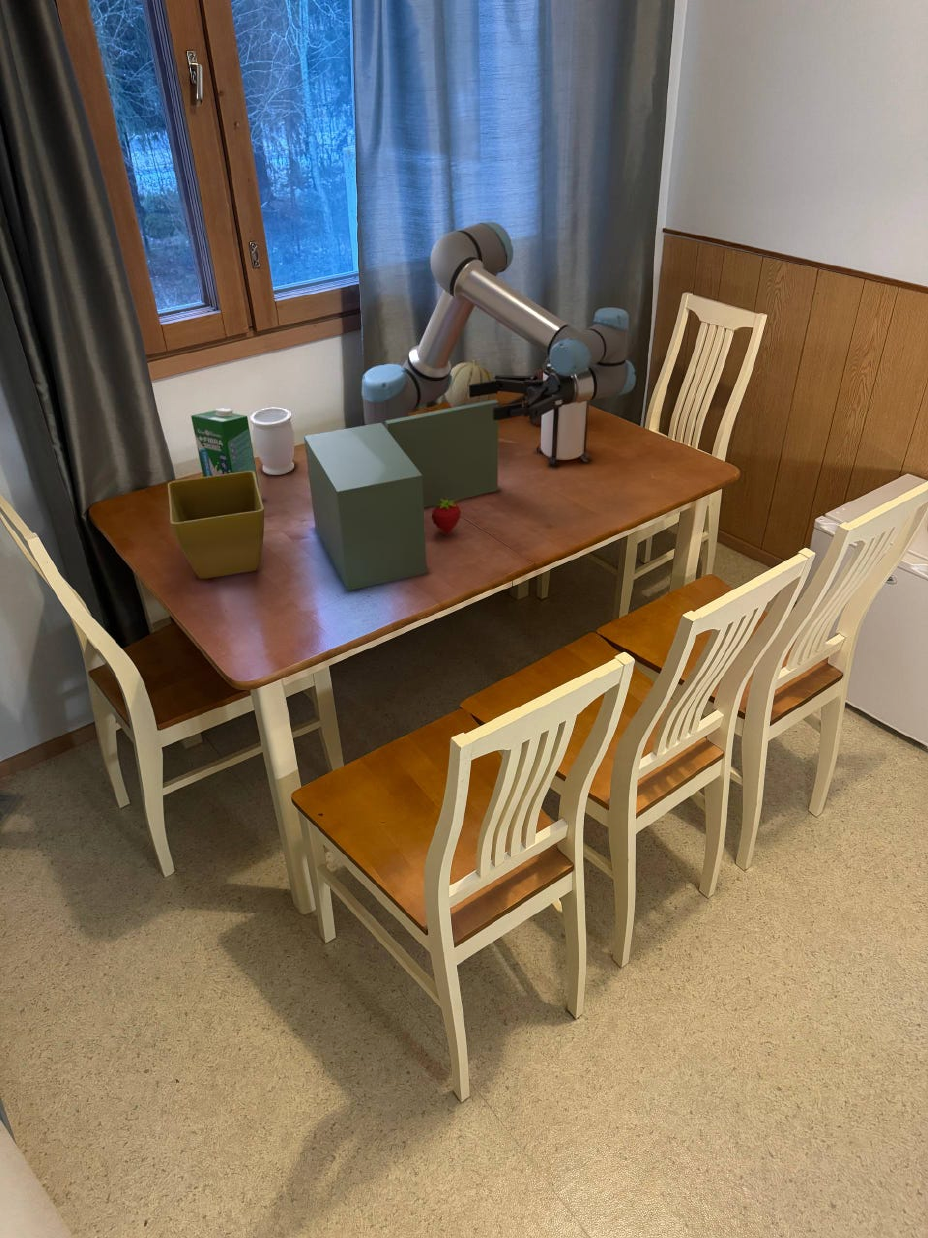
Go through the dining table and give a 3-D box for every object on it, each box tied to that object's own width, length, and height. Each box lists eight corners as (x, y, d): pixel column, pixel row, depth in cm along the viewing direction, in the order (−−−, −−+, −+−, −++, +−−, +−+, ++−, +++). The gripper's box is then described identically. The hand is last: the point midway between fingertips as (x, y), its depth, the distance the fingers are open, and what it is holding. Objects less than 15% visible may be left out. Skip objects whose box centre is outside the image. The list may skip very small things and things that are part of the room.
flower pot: (275, 576, 203) (264, 509, 194) (186, 591, 199) (170, 523, 189) (264, 533, 218) (254, 469, 208) (181, 547, 214) (167, 482, 204)
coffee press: (601, 450, 251) (610, 341, 234) (574, 473, 240) (581, 361, 223) (545, 436, 259) (549, 329, 241) (516, 458, 248) (519, 348, 230)
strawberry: (426, 535, 217) (424, 497, 211) (449, 523, 221) (448, 486, 215) (444, 544, 213) (442, 506, 207) (467, 532, 217) (466, 494, 212)
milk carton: (261, 500, 231) (246, 406, 216) (239, 517, 225) (222, 421, 210) (231, 494, 234) (214, 400, 220) (209, 510, 228) (190, 414, 213)
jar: (290, 479, 240) (282, 425, 231) (252, 475, 242) (243, 422, 233) (303, 460, 249) (296, 408, 240) (267, 457, 250) (259, 405, 242)
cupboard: (388, 514, 225) (381, 422, 211) (426, 573, 204) (422, 475, 189) (315, 529, 220) (303, 435, 205) (347, 591, 198) (337, 491, 184)
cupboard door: (382, 501, 230) (376, 411, 216) (484, 478, 239) (484, 390, 225) (393, 514, 224) (387, 423, 210) (497, 490, 233) (498, 401, 219)
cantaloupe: (440, 420, 268) (438, 370, 260) (449, 400, 280) (448, 351, 271) (490, 423, 266) (491, 373, 257) (497, 402, 278) (498, 354, 269)
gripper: (594, 423, 200) (503, 440, 194) (544, 383, 219) (460, 397, 213) (596, 390, 196) (504, 407, 190) (545, 352, 215) (459, 366, 208)
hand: (480, 402), depth 201 cm, fingers open, 13 cm apart
